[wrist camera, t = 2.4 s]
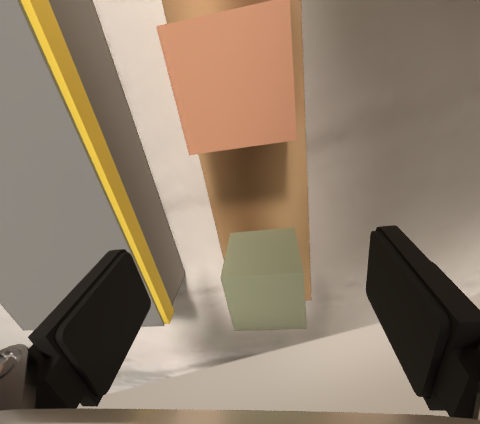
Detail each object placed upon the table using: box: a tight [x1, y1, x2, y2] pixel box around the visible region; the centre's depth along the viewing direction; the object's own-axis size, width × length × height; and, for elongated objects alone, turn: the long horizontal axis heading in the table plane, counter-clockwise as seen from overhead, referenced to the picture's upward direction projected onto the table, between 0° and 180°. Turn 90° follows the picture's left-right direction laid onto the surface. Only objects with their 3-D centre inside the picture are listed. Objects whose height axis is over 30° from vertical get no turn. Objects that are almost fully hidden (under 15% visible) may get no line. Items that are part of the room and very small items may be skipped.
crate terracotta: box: [156, 0, 297, 155], centre depth 11 cm, size 4×4×4 cm
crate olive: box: [221, 227, 307, 331], centre depth 16 cm, size 4×4×4 cm
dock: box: [0, 0, 185, 330], centre depth 17 cm, size 13×26×6 cm, turn 9°
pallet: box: [162, 0, 311, 300], centre depth 18 cm, size 6×21×4 cm, turn 9°
